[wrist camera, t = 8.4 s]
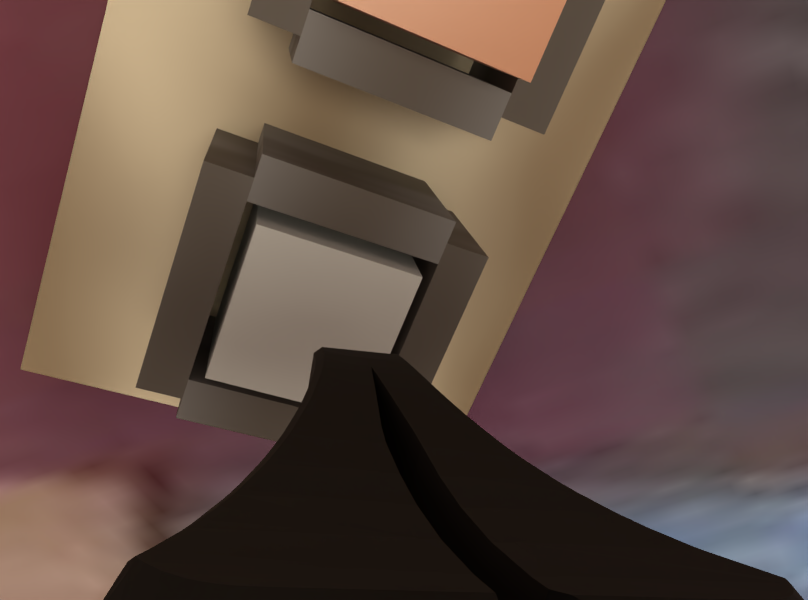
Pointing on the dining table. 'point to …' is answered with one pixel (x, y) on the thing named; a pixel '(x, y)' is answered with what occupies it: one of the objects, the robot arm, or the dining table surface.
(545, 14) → the terracotta button
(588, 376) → the dining table surface
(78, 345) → the button panel
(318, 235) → the grey button
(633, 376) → the dining table surface
